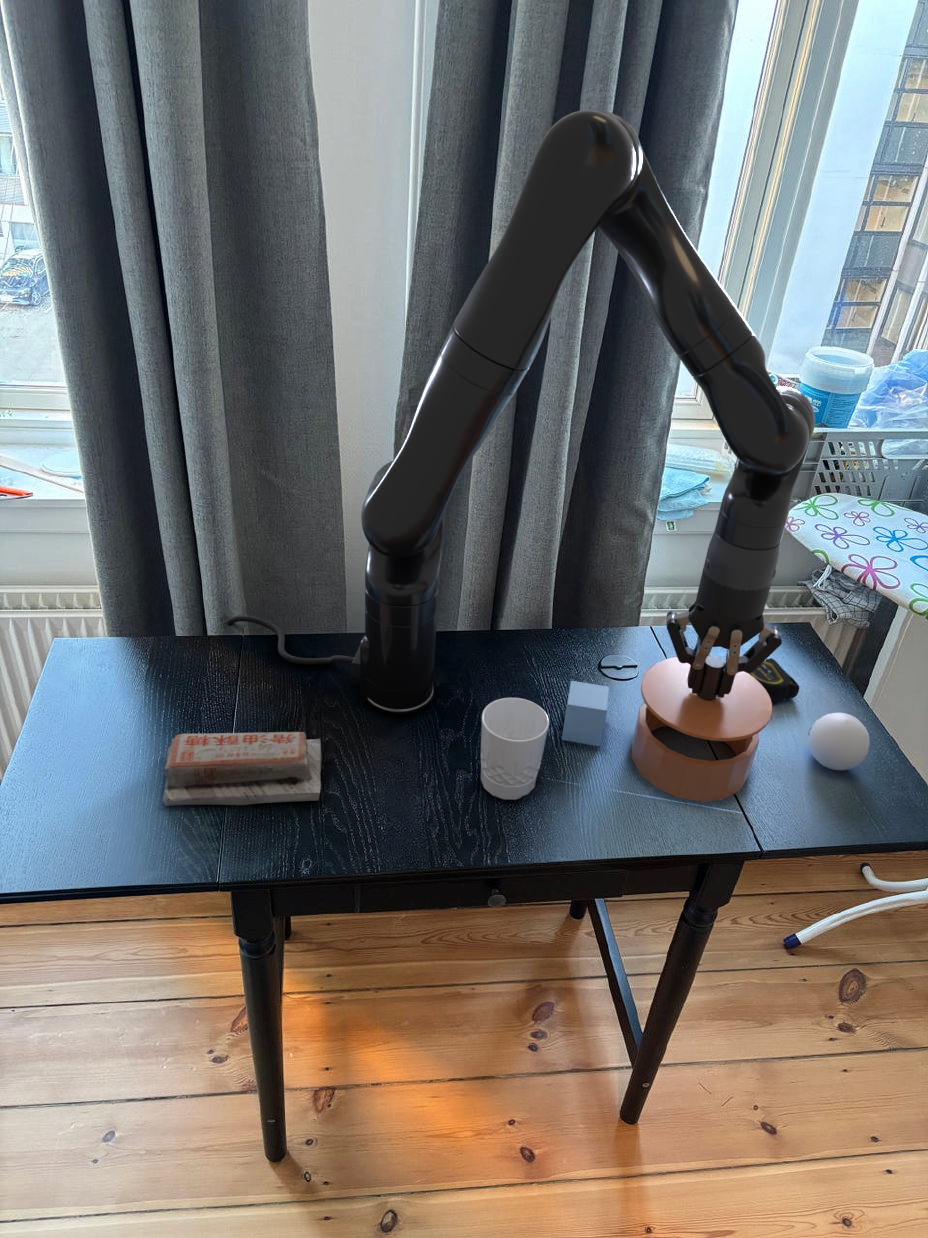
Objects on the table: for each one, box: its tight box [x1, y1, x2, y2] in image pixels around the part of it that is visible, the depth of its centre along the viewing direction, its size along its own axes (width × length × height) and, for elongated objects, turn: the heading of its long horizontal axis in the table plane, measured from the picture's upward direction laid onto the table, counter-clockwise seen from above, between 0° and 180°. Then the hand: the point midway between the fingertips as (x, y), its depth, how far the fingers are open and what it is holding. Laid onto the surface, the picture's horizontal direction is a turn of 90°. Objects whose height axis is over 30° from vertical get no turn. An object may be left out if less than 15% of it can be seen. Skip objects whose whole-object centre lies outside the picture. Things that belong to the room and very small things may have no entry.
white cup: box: [480, 697, 550, 801], centre depth 115 cm, size 8×8×10 cm
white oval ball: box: [807, 708, 871, 771], centre depth 123 cm, size 10×7×7 cm
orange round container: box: [630, 701, 760, 803], centre depth 120 cm, size 15×15×6 cm
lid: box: [640, 655, 773, 742], centre depth 115 cm, size 16×16×6 cm
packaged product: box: [162, 731, 322, 807], centre depth 114 cm, size 18×5×10 cm
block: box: [561, 680, 610, 747], centre depth 124 cm, size 5×5×6 cm
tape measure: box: [748, 657, 800, 705], centre depth 134 cm, size 7×7×4 cm
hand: (707, 690), depth 116 cm, fingers closed on lid, 2 cm apart
